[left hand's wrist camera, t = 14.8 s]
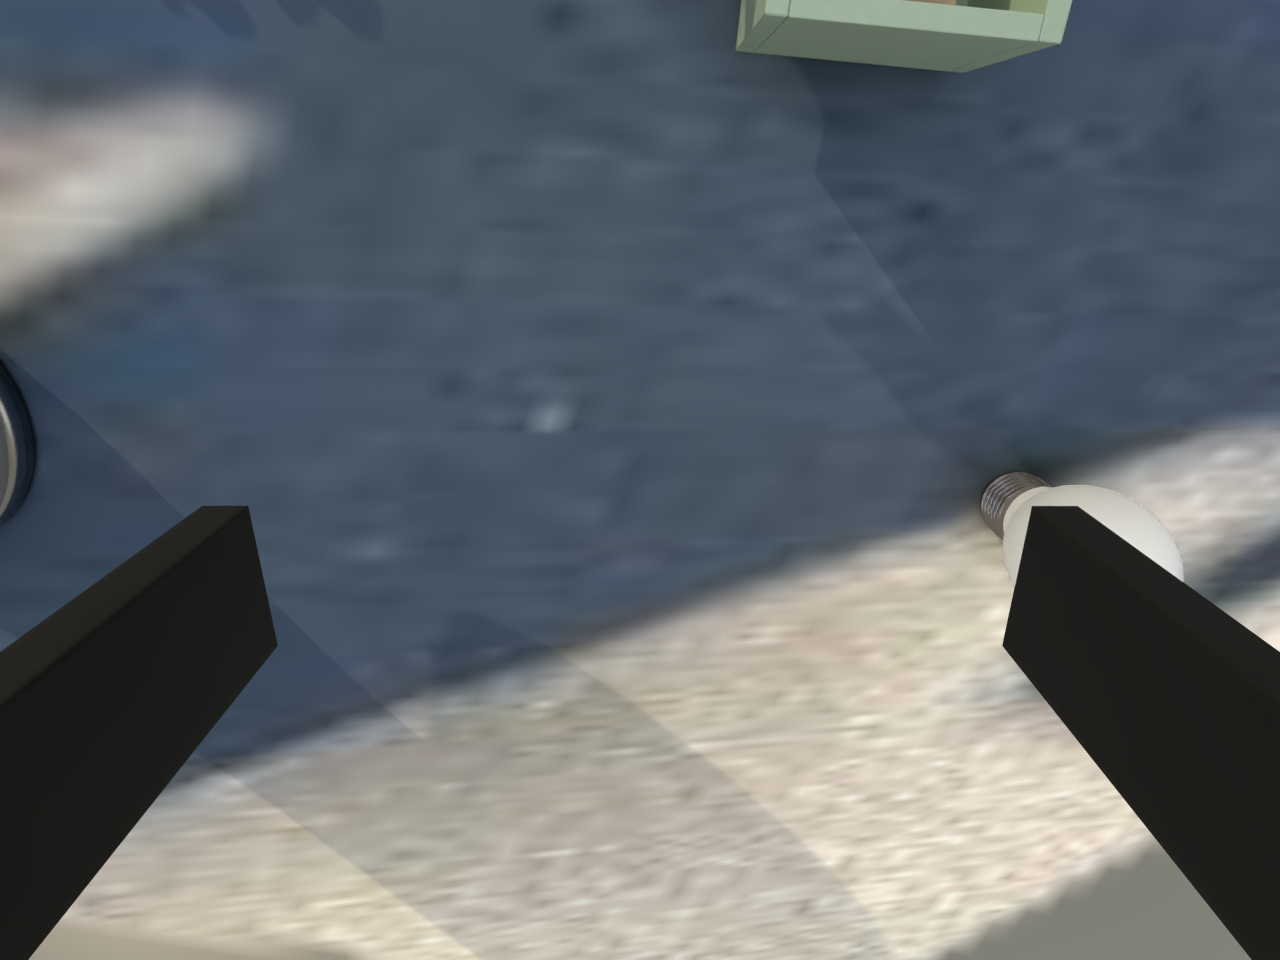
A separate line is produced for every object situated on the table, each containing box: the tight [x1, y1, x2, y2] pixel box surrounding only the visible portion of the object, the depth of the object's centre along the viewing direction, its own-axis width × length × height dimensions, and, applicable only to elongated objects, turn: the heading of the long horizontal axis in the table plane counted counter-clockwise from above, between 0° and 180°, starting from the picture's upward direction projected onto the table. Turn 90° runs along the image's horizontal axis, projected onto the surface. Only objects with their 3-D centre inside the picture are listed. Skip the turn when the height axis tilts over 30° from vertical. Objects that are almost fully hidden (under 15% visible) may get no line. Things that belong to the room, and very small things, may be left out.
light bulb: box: [981, 472, 1184, 587], centre depth 36 cm, size 7×7×11 cm
